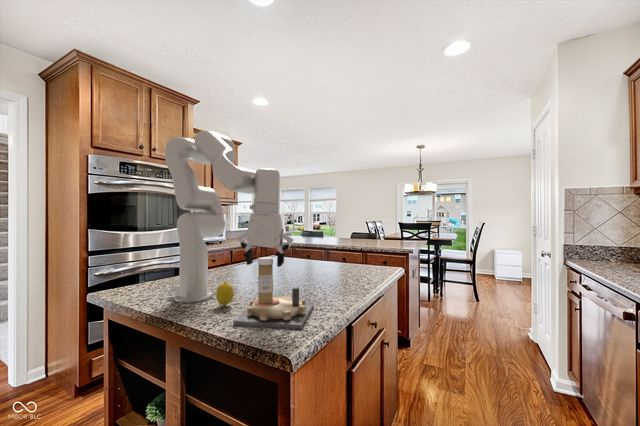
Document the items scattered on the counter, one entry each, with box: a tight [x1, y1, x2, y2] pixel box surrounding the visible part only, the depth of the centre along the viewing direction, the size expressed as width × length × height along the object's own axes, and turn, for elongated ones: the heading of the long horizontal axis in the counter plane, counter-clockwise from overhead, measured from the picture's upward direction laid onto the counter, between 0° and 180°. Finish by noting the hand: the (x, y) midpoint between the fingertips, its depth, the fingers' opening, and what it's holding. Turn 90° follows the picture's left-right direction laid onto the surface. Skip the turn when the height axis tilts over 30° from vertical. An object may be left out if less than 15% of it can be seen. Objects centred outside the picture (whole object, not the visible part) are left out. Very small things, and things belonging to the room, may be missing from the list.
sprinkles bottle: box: [257, 256, 274, 304], centre depth 85 cm, size 5×5×14 cm
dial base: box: [232, 302, 315, 330], centre depth 84 cm, size 19×19×1 cm
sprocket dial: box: [246, 287, 306, 321], centre depth 84 cm, size 18×18×7 cm
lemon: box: [216, 281, 235, 307], centre depth 93 cm, size 6×6×8 cm
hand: (264, 265), depth 85 cm, fingers open, 9 cm apart
